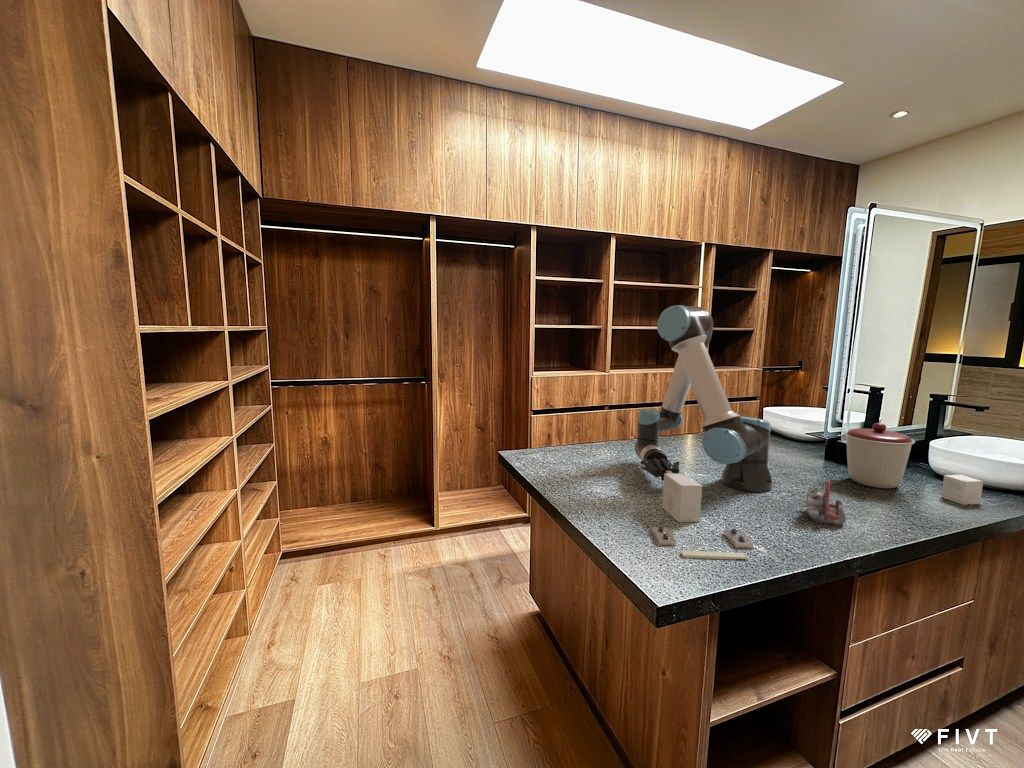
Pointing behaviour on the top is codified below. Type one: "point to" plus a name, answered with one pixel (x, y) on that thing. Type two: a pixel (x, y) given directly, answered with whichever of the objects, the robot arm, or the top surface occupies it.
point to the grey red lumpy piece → (824, 507)
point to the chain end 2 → (738, 538)
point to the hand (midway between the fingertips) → (674, 482)
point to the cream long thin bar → (713, 555)
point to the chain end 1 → (663, 536)
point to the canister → (877, 456)
